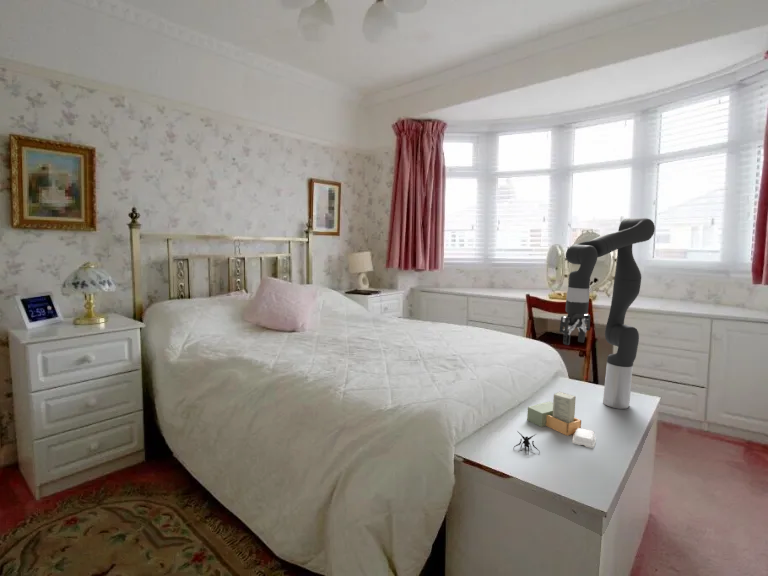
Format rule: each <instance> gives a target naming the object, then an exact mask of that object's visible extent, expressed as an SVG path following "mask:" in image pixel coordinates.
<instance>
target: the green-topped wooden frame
mask: <svg viewBox="0 0 768 576" xmlns="http://www.w3.org/2000/svg"><path fill="white" fill-rule="evenodd" d="M526 417H527V418H526V421H528V422H530V423H532V424H534V425H536V426H539V427H540V428H543V427H548V428H550V429H553V430H554V431H557V432H558V433H561V434H562V435H565V436H567V437H568V436H570V435H574V433H575V431H576V429H577V428H581V429H582V420H581V419H579V418H577V417H575V416H574V422H571V423H565V422H563V421H561V420H559V419H557V418H554V417H553V402H552V401H545V402H543V403H539V404H535V405H530V406H528V407H527V415H526Z"/></svg>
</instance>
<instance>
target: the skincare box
mask: <svg viewBox="0 0 768 576" xmlns="http://www.w3.org/2000/svg"><path fill="white" fill-rule="evenodd" d="M552 399H553V402H552V403H553V417H554V418H557V419H559V420H561V421H563V422H565V423H571V422H574V417H575V414H576V413H575V411H576V395H573V394H569V393H565V392H561V391H557V392H556V393H554V394H553V398H552Z"/></svg>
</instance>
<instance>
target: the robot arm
mask: <svg viewBox="0 0 768 576" xmlns="http://www.w3.org/2000/svg"><path fill="white" fill-rule="evenodd" d="M655 230H656V226H655V223H654V221H653V220H652V219H651V218H647V217H628V218H627V217H626V218H624V219H622V220H621V222H620V223H619V226H618V231H615V232H609V233H606V234H602V235H600V236H598V237H595V238H593V239H591V240H586V241H582V242H577V243H574V244H572V245H571V246H569V247H568V249H566V252H565V259H566V260H567V262H568V263H570V264H573V265H579V268H578V270H575V271H570V273H569V274H568V282H567V283H568V284H567V290H566V301H565V312H566V313H567V315H566V316H561V317H560V324H559V333H562V334H563V340H562V343H563V345H566V346H569V345H570V344H571V334H572V332H573V331H575V329H576V328H577V330H578V335H577V342H578V343H584V342H585V340H586V333H587V331H588V332H589V331H590V328H591V314H588V313H589V305H590V304H589V303H590V301H589V300H590V285H591V284H590V283H591V277H592V274H593V272H594V269H595V266H596V264H597V261H598V258H600V257H604V256H606V255H608V254H610V253H612V252H615V251H617V255H616V266H615V272H614V279H613V288H612V296H611V301H610V302H611V303H610V309H609V313H608V318H607V322H606V325H605V331H604V338H605V340H606V342H607V343H608V344H609V345H612V346H616V347H617V351H616V353H610V354H608V355H607V357H606V368H605V379H604V388H603V397H602V403H603V405H606V406H608V407H610V408H613V409H619V410H620V409H621V410H626V409H629V406H630V400H631V391H632V378H633V377H632V376H633V370H634V368H633V367H634V362H635V360H636V359H637V358H636V357H637V353H638V346H639V342H640V341H639V340H640V333H639V331H638V329H637V328H635V327H634V326H632V325H629V324H625V318H626V315H627V312H628V309H629V308H630V306H631V305H632V304H633V303H634V301H635V300H636V299H637V297H638V296H639V294H640V292H641V291H640V290H641V283H642V274H641V270H640V268H639V266H638V264H637V262H636V260H635V258H634V253H633V245H634V244H639V243H643V242H646V241H650V240H651V239H652V237H653V236H654V235H655Z"/></svg>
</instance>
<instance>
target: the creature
mask: <svg viewBox="0 0 768 576" xmlns="http://www.w3.org/2000/svg"><path fill="white" fill-rule="evenodd" d="M516 431H517V433H518V434H519V435H520V436H521V438H520V441H519V443H517V444H516V445H514V446H513V450H515V447H517V446H520V448H522V447H523V446H524V451H525V453H527V452H528V453H527V455H528V456H529V454H530V453H529V452H530V450H531V453H533V454H534V455H536V453H534V452H533V449H532V447H533V448H534V449H535V450H537V451H538V455H540V454H541V452H540V450H539V449H538V447H536V445H535V444H534V443H535V441H534V440H532V441H531V442H532V443H530V440H531V439H532V438H533V437H535V436H536V435H537V433H535V434H534V435H531V436H529V437H528V436H524V435H523V434H522V433H520V432H519V431H518V430H516ZM522 439H523V440H522ZM523 444H524V445H523ZM531 444H532V446H531ZM520 451H521V452H523V449H522V450H521V449H519V452H520Z"/></svg>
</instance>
